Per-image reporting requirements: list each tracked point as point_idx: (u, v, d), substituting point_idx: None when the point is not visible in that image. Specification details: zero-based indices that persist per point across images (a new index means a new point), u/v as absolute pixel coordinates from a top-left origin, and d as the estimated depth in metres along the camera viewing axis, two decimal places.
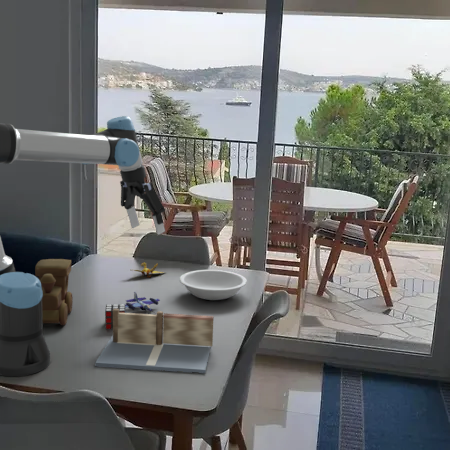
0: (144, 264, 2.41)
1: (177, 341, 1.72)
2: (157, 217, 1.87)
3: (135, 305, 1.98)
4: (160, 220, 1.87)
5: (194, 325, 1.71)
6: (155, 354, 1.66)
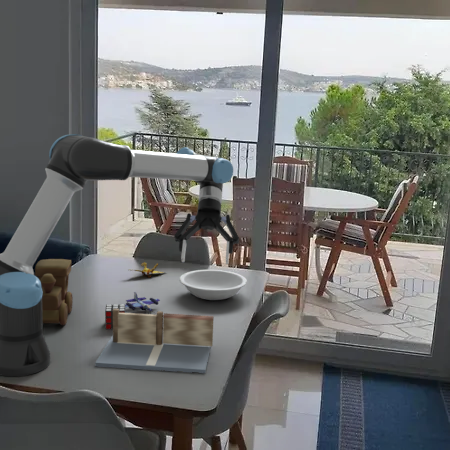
0: (144, 264, 2.41)
1: (177, 341, 1.72)
2: (231, 244, 1.88)
3: (135, 305, 1.98)
4: (232, 248, 1.88)
5: (194, 325, 1.71)
6: (155, 354, 1.66)
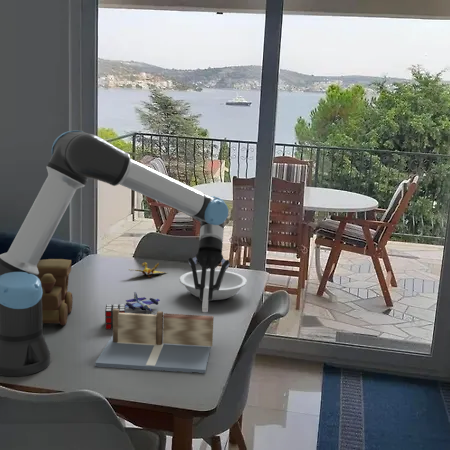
0: (145, 264, 2.41)
1: (177, 341, 1.72)
2: (211, 292, 1.82)
3: (135, 305, 1.98)
4: (212, 296, 1.82)
5: (194, 325, 1.71)
6: (155, 354, 1.66)
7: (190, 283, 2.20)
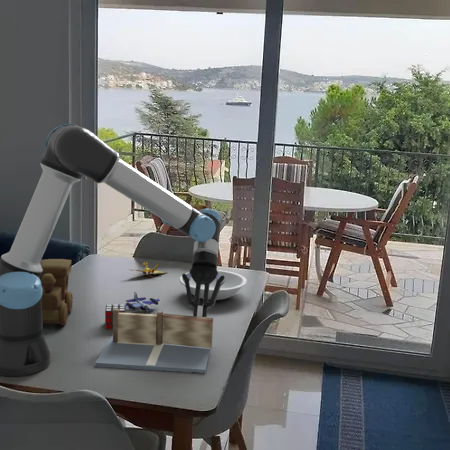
0: (145, 264, 2.41)
1: (177, 342, 1.71)
2: (205, 309, 1.75)
3: (135, 305, 1.98)
4: (206, 314, 1.74)
5: (193, 326, 1.70)
6: (155, 354, 1.66)
7: (190, 283, 2.20)
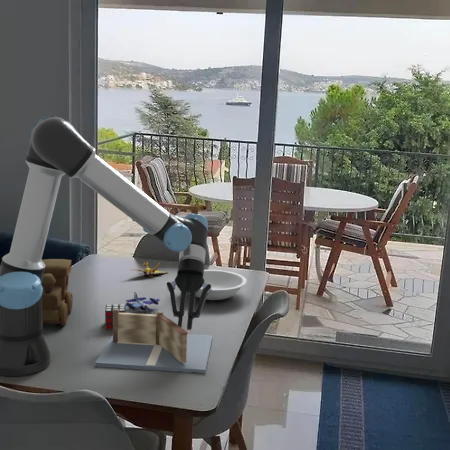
0: (146, 264, 2.41)
1: (165, 346, 1.68)
2: (190, 320, 1.66)
3: (135, 305, 1.98)
4: (191, 324, 1.66)
5: (173, 335, 1.63)
6: (155, 354, 1.66)
7: None
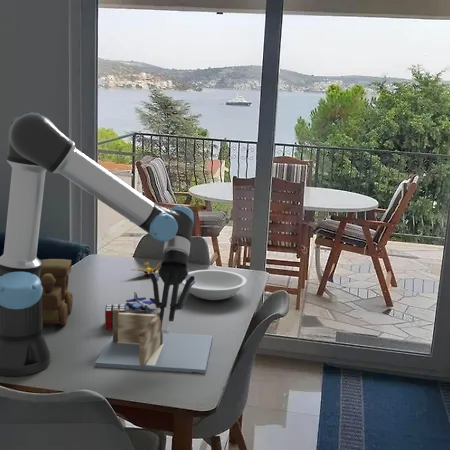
0: (147, 264, 2.41)
1: None
2: (172, 311, 1.65)
3: (135, 305, 1.98)
4: (173, 316, 1.65)
5: None
6: (155, 354, 1.66)
7: None
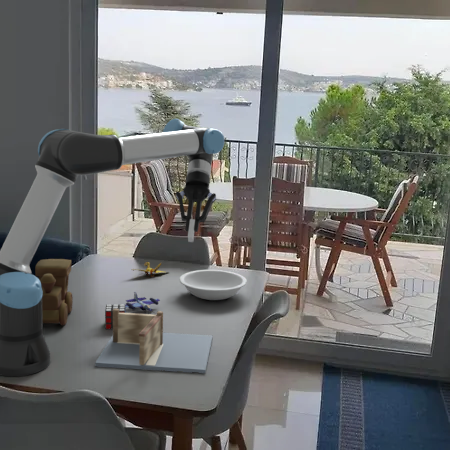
0: (147, 264, 2.42)
1: None
2: (197, 222, 1.85)
3: (135, 305, 1.98)
4: (198, 227, 1.85)
5: None
6: (155, 354, 1.66)
7: (190, 283, 2.20)
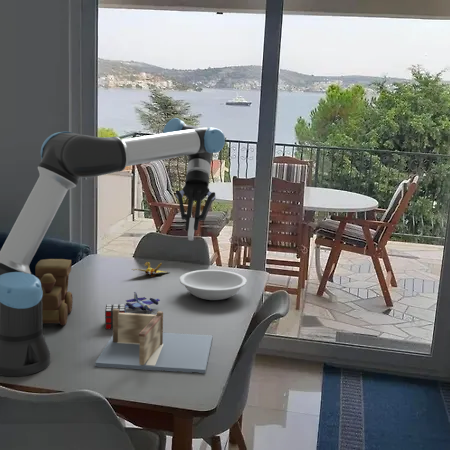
0: (148, 264, 2.42)
1: None
2: (196, 221, 1.87)
3: (135, 305, 1.98)
4: None
5: None
6: (155, 354, 1.66)
7: (190, 283, 2.20)
